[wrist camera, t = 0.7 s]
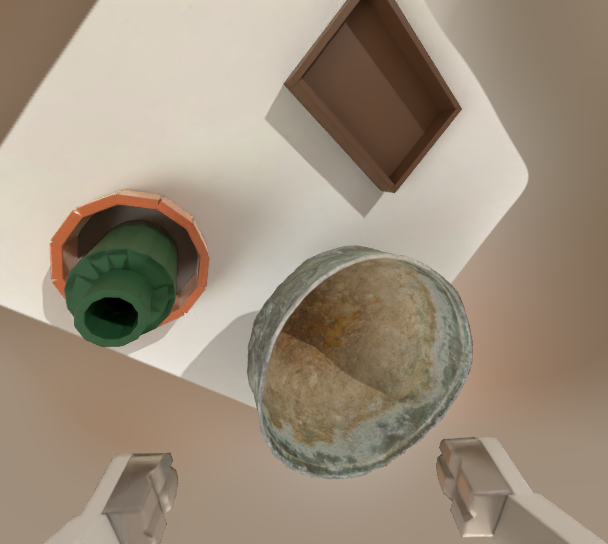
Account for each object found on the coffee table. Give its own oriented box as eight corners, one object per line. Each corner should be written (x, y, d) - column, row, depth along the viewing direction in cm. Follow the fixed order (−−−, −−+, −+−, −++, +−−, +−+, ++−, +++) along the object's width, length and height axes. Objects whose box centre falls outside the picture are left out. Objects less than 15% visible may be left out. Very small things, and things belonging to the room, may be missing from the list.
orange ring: (35, 221, 26) (12, 231, 23) (171, 172, 28) (169, 174, 25) (114, 329, 31) (104, 351, 28) (224, 280, 33) (229, 295, 30)
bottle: (86, 237, 28) (11, 296, 16) (157, 209, 29) (138, 246, 17) (125, 296, 30) (87, 385, 18) (189, 269, 32) (192, 336, 20)
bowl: (305, 187, 33) (386, 206, 20) (406, 284, 42) (509, 343, 29) (188, 331, 34) (191, 443, 20) (312, 397, 43) (370, 505, 29)
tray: (283, 83, 29) (292, 77, 27) (359, -17, 29) (375, -33, 26) (381, 191, 36) (395, 193, 34) (443, 112, 36) (462, 108, 33)
